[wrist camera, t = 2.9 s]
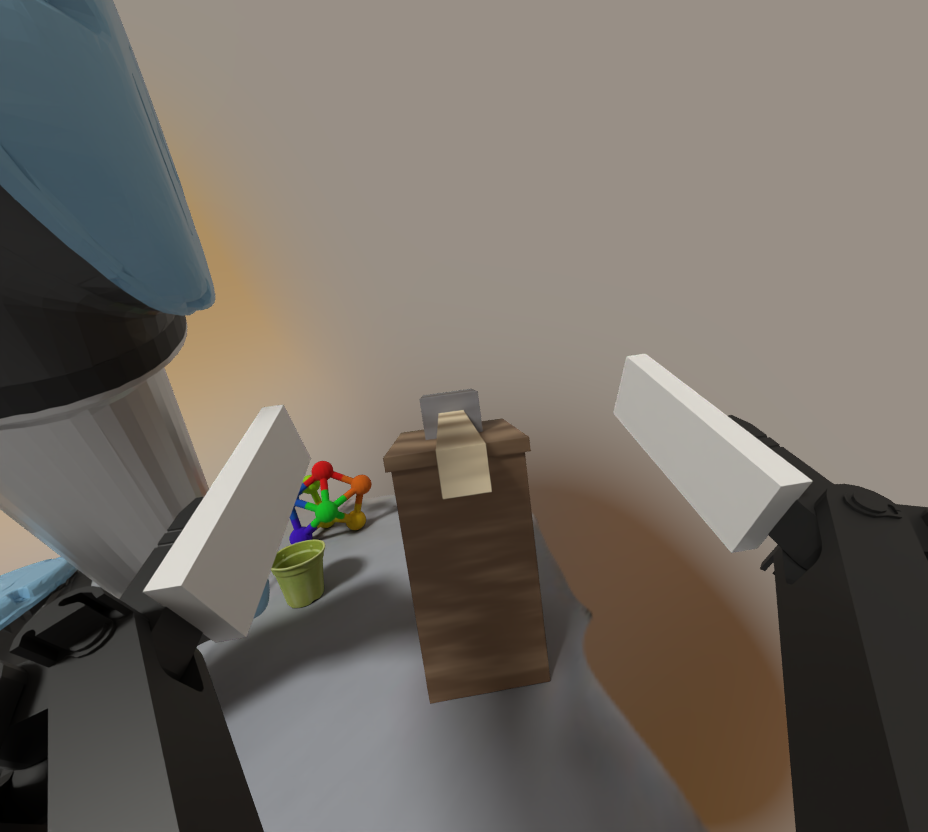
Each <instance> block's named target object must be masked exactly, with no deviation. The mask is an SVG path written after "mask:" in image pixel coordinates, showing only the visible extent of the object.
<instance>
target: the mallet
mask: <svg viewBox="0 0 928 832" xmlns="http://www.w3.org/2000/svg"><path fill="white" fill-rule="evenodd" d="M420 405H421V412H422V418H423V425H424V432H425V439H426V440H430V439H437V441H436V456H437V463H438V470H439V477H440V483H441V490H442V497H443V499H447V498H454V497H460V496H467V495H474V494H480V493H487V492H492V490H491V482H490V474H489V466H488V458H487V450H486V443H485V442H484V440H483V439H482V437H481V436H480V434H479V432H483V430H482V422H481V414H480V406H479V398H478V391H475V390H473V389H467V390H459V391H453V392H445V393H437V394H430V395H423V396H422V397H421V398H420Z"/></svg>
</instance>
